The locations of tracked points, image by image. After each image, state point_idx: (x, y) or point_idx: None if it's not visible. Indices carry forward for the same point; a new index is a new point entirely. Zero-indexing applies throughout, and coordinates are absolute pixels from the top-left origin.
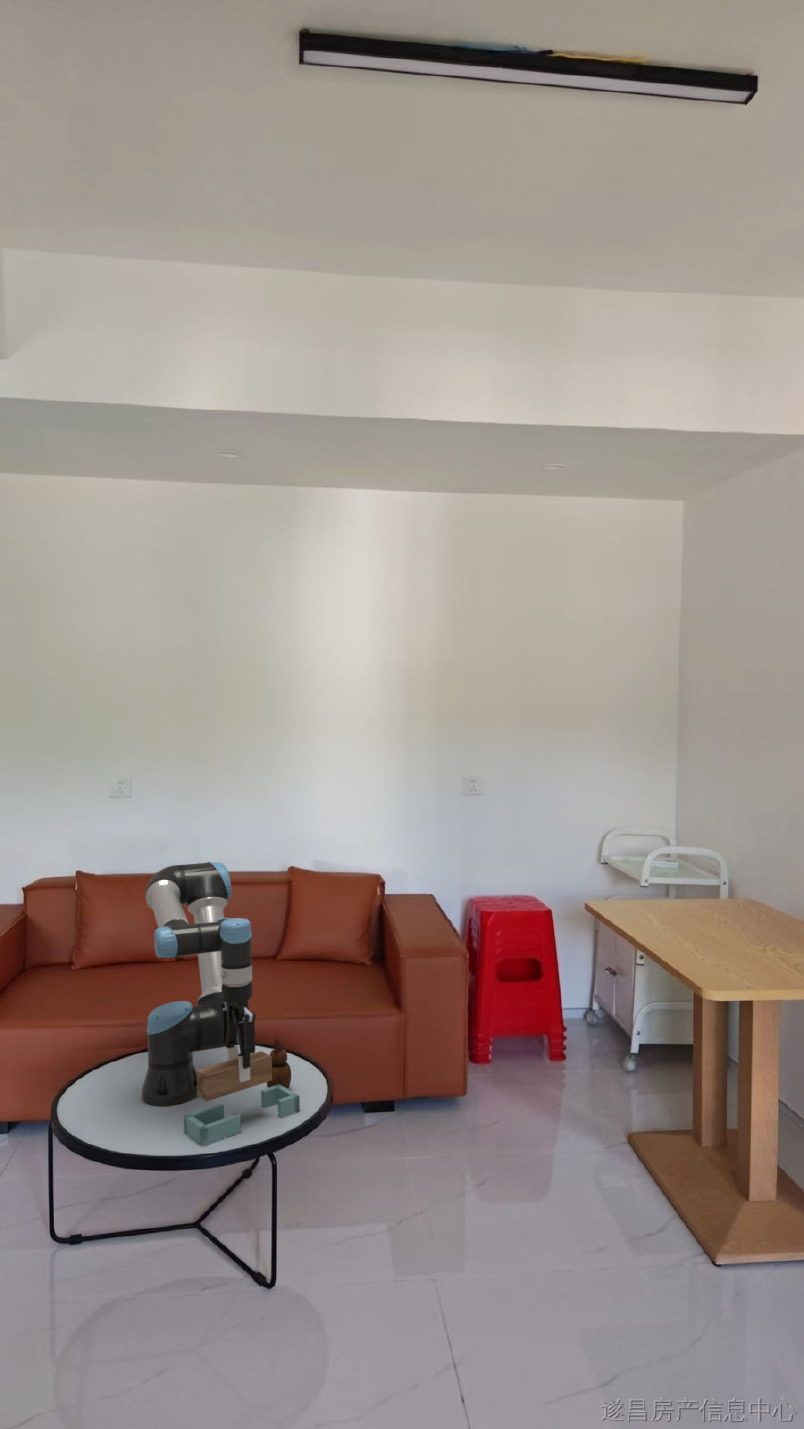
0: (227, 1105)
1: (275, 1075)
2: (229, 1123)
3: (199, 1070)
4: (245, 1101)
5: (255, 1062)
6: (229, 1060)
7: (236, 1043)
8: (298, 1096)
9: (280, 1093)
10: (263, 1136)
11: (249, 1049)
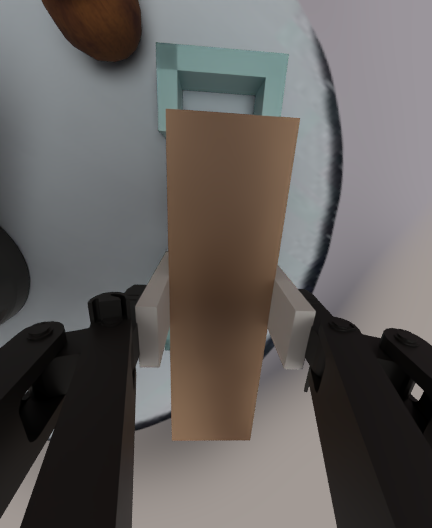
0: (106, 203)
1: (119, 23)
2: None
3: (180, 435)
4: (112, 154)
5: (279, 237)
6: (169, 321)
7: (121, 311)
8: (287, 60)
9: (197, 77)
10: (304, 232)
11: (411, 386)
